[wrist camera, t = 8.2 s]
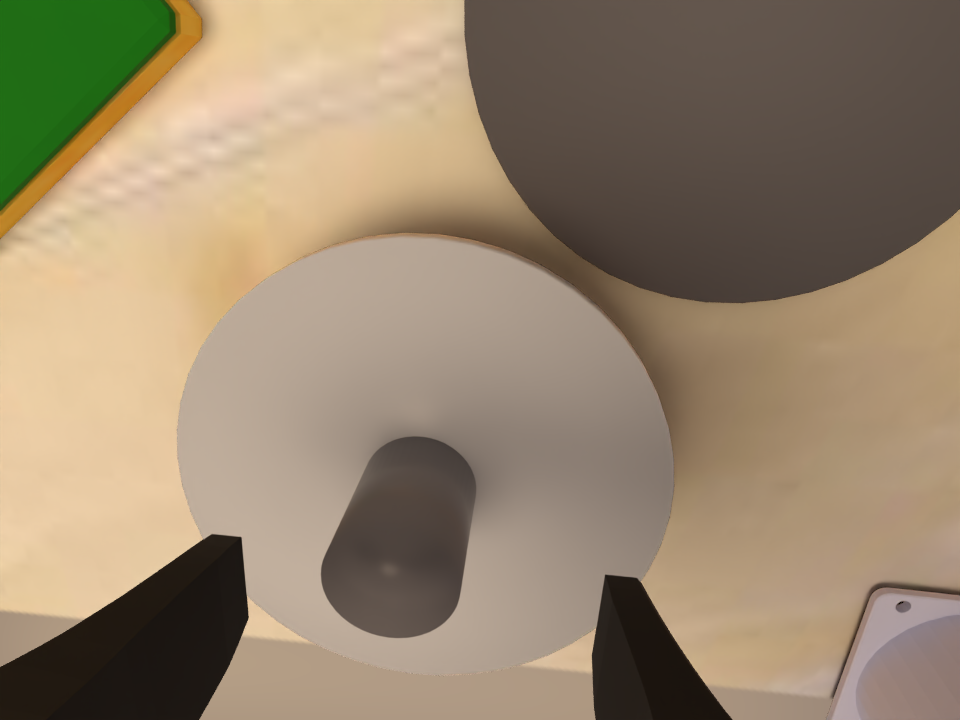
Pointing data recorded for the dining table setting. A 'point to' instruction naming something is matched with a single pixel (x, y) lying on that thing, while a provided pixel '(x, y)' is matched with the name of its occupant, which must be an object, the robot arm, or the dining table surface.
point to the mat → (725, 133)
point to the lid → (426, 453)
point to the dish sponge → (75, 81)
